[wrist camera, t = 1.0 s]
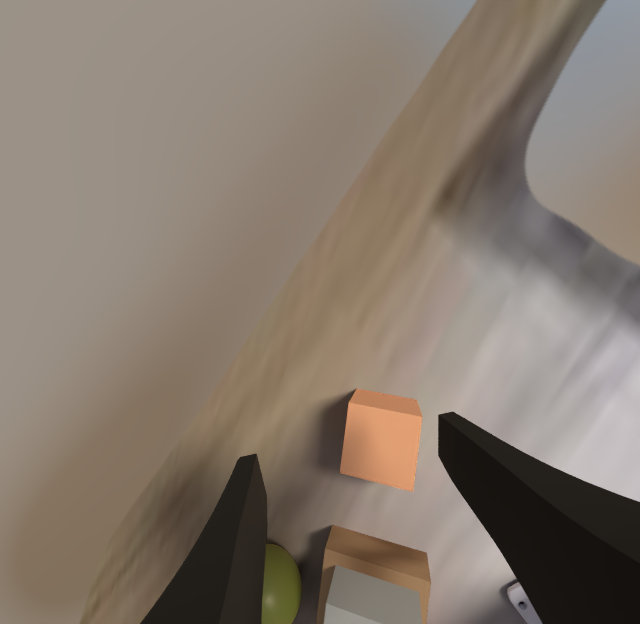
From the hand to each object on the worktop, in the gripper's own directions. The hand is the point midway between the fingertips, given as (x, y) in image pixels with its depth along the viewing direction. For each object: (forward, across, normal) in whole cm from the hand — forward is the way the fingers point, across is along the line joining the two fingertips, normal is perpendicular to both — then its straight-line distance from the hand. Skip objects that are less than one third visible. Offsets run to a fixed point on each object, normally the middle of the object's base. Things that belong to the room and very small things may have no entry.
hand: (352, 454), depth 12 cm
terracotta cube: (+9, -4, +7) cm, 12 cm away
